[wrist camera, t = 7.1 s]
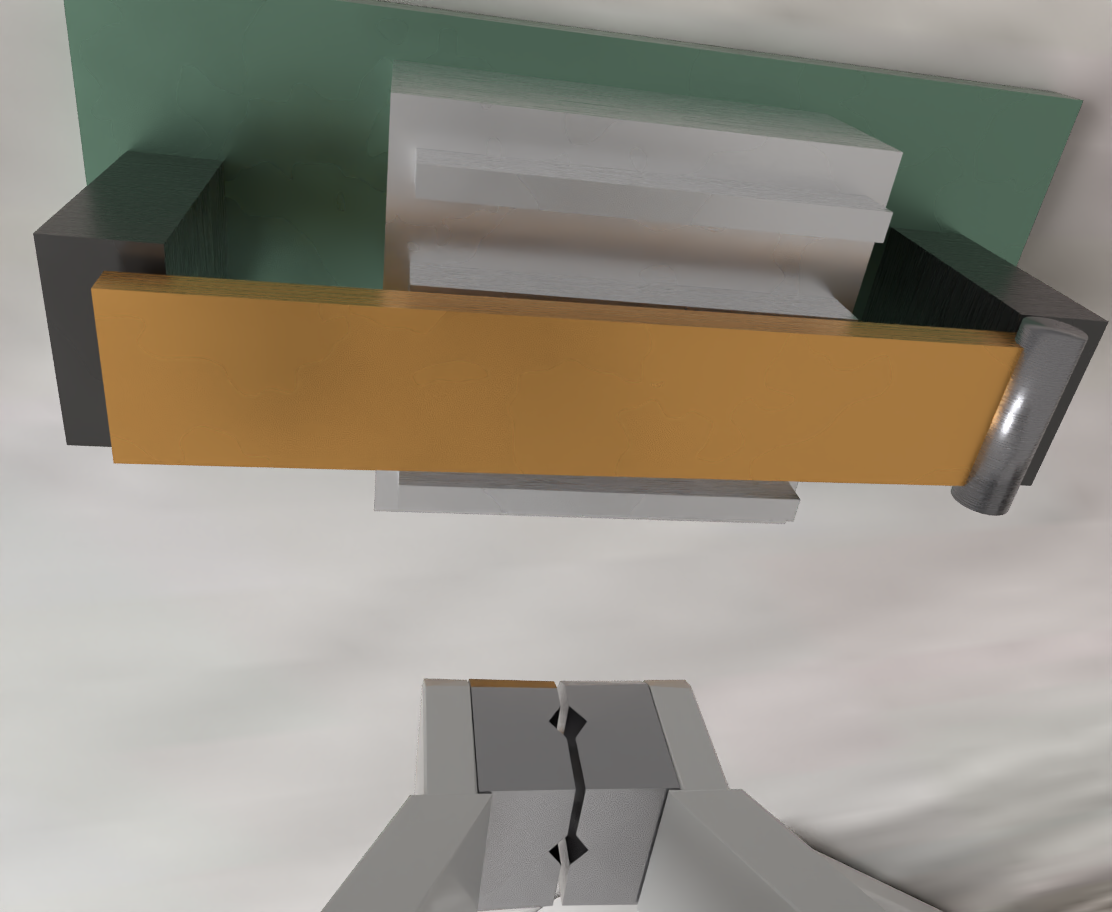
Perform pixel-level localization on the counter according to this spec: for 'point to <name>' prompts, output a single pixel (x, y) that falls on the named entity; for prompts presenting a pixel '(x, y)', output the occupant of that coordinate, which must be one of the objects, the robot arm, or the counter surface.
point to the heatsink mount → (541, 192)
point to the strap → (566, 387)
